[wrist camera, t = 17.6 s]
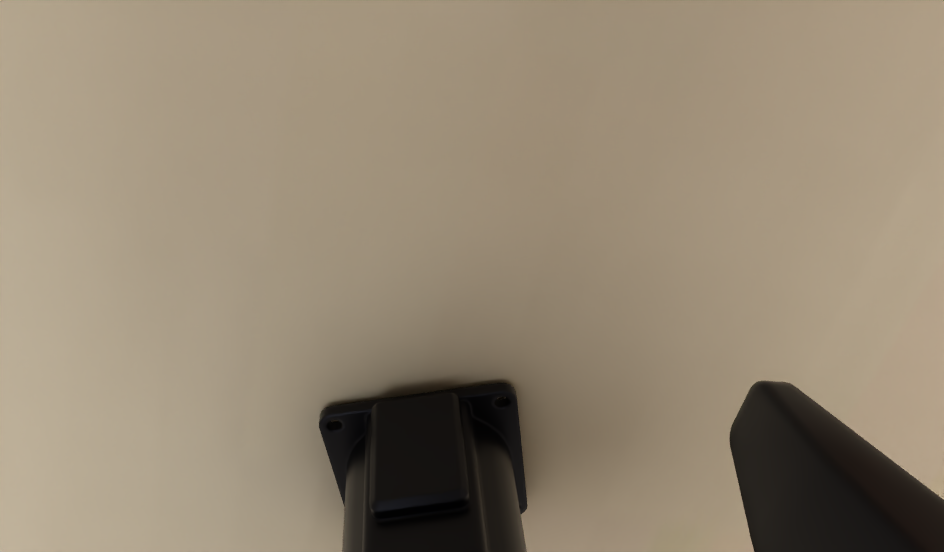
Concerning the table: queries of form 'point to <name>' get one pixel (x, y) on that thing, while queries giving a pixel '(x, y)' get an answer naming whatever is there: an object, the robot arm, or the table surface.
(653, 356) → the table surface
